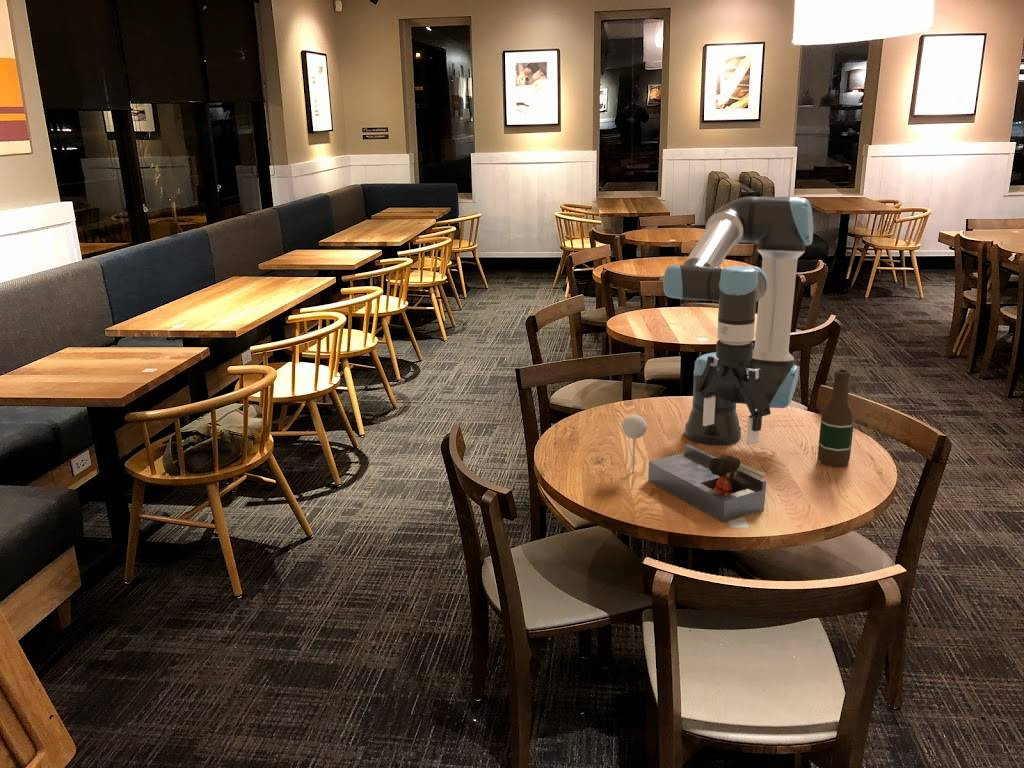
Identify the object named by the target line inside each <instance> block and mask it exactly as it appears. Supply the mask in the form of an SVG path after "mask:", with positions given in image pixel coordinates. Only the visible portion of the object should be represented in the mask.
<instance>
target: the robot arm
mask: <svg viewBox="0 0 1024 768" xmlns="http://www.w3.org/2000/svg"><path fill="white" fill-rule="evenodd" d="M813 215H814V214H813V209H812V205H811V201H809V199H808V198H804V197H798V196H797V197H796V196H795V197H794V196H793V197H792V196H745V197H744V196H743V197H740V198H736V199H735V200H732V201H730V202H728V203H726V204H724V205H723V206H720V207H719V208H718V209H716V210H715V211H714V212H713V213H712V214H711V216H710V217H709V218H708V220H707V222H706V224H705V230H704V231H705V232H703V234H702V235H701V237H700V239H699V240H698V242H697V243H696V244H695V246H694V248H693V250H692V251H691V252H690V253H689V255H688V256H687V258H686V259H685V261H684V263H682V265H681V264H678V263H677V264H670V265H668V266H667V267H666V268H665V271H664V274H663V279H662V280H663V281H662V284H663V285H662V287H663V288H662V289H663V293H664V294H665V296H666V297H668V298H672V299H678V300H690V301H691V300H695V301H706V302H707V301H709V302H718V311H717V312H718V314H717V315H718V316H717V331H716V332H717V333H716V337H717V339H718V340H717V341H716V351H715V352H709V353H705V354H702V355H700V356H699V357H697V358H696V360H695V361H694V369H693V383H692V384H693V385H692V386H693V388H692V408H691V411H690V412H689V416H688V419H687V422H686V423H685V427H684V436H685V437H686V438H687V439H688V440H691V441H693V442H694V443H695V442H696V443H698V444H704V445H712V446H713V445H714V446H721V445H722V446H724V445H731V444H734V443H737V442H739V441H740V440H741V437H742V428H741V425H740V420H739V417H738V414H737V413H738V412H737V404H741V405H746V406H747V408H748V411H749V413H750V414H749V415H748V416H747V427H746V428H747V429H746V442H745V445H747V446H748V447H749V446H754V445H756V444H759V438H760V437H759V436H760V431H761V430H762V425H763V417H766V416H770V415H771V413H772V412H771V409H772V408H774V409H785V408H787V407H789V406H790V404H791V402H792V399H793V397H794V395H795V391H796V388H797V383H798V380H799V375H800V367H799V365H796V364H794V362H795V361H794V360H795V357H794V356H793V355H792V354H791V353H790V351H789V348H790V338H791V329H792V319H793V311H794V310H793V308H794V307H793V306H794V301H795V300H794V299H795V291H796V290H795V288H796V278H797V267H798V260H799V258H800V257H801V256H803V254H804V253H805V252H806V246H807V247H809V246H810V245H812V244H813V240H814V216H813ZM739 243H753V244H757V247H756V251H757V252H758V254H760V255H761V258H762V261H761V267H759V266H755V265H749V266H747V265H731V266H726V267H721V265H722V264H723V262H724V260H725V259H726V257H727V256H728V253H729V252H730V251H731V249H732V248H733V247H735V246H736V245H737V244H739ZM757 303H758V305H757ZM756 307H757V315H756ZM755 319H756V320H755ZM755 322H756V324H755ZM753 340H754V343H753Z"/></svg>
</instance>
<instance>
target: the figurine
mask: <svg viewBox="0 0 1024 768" xmlns="http://www.w3.org/2000/svg"><path fill="white" fill-rule="evenodd" d="M741 463H742V462H741V460H740V459H739V458H738V457H735V456H733V455H730V454H722V455H720V456H718V457H716V458H712V459H711V462H710V464H709V468H710V471H711V472H712V474H714V475H717V476H719V479H718V481H717V482H716V487H715V488H714V489H713V490H714V491H716V492H718V493H720V494H722V495H724V496H727V495H730V494H732V493H731V490H732V489H731V481H732V480H733V479H734V478H735V477H736V475H737V472H736V471H737V469H738V468H740V465H741Z"/></svg>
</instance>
